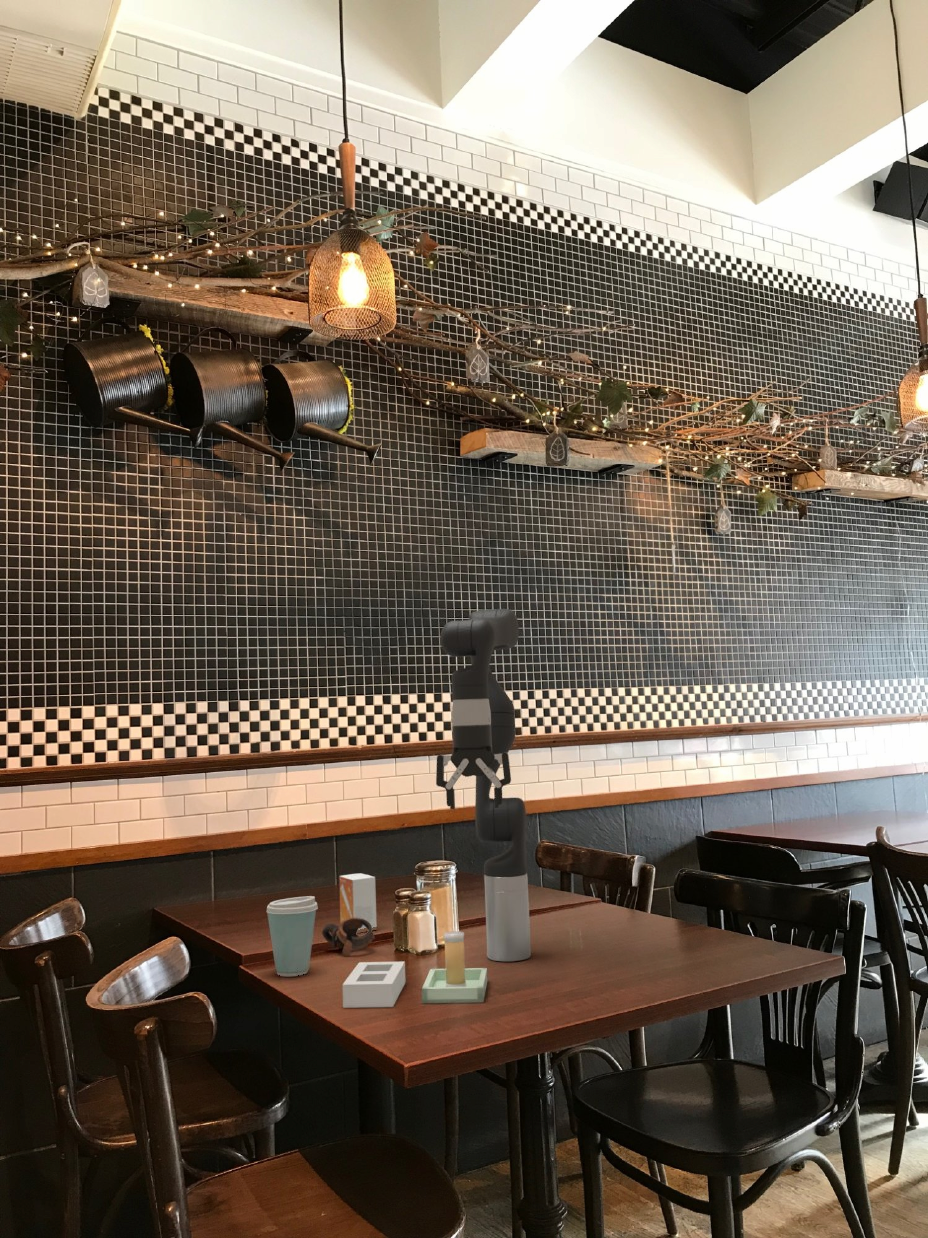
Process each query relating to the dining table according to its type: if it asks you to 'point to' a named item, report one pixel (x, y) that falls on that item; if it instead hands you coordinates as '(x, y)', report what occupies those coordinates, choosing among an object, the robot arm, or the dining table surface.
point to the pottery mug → (348, 935)
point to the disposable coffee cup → (292, 933)
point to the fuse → (454, 959)
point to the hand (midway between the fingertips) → (474, 808)
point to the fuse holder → (374, 984)
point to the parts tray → (439, 993)
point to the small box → (358, 898)
